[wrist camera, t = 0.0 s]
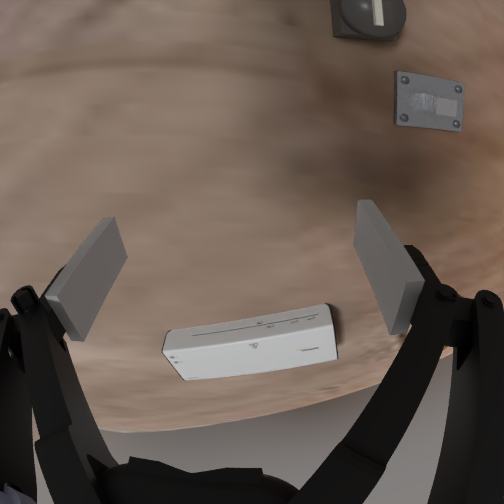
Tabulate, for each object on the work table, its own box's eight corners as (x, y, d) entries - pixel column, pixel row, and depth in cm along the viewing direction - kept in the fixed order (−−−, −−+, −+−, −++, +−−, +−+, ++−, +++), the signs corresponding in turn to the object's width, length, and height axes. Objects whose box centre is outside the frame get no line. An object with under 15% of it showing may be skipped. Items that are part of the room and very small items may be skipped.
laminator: (328, 301, 57) (334, 324, 52) (334, 340, 64) (338, 362, 59) (167, 329, 63) (161, 351, 58) (190, 362, 70) (186, 383, 65)
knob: (327, -13, 27) (341, -28, 21) (382, -7, 27) (405, -17, 20) (331, 37, 32) (347, 32, 25) (386, 42, 31) (411, 40, 25)
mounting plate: (394, 70, 33) (409, 72, 29) (460, 82, 33) (479, 86, 29) (393, 123, 38) (408, 131, 34) (458, 130, 37) (475, 139, 33)
